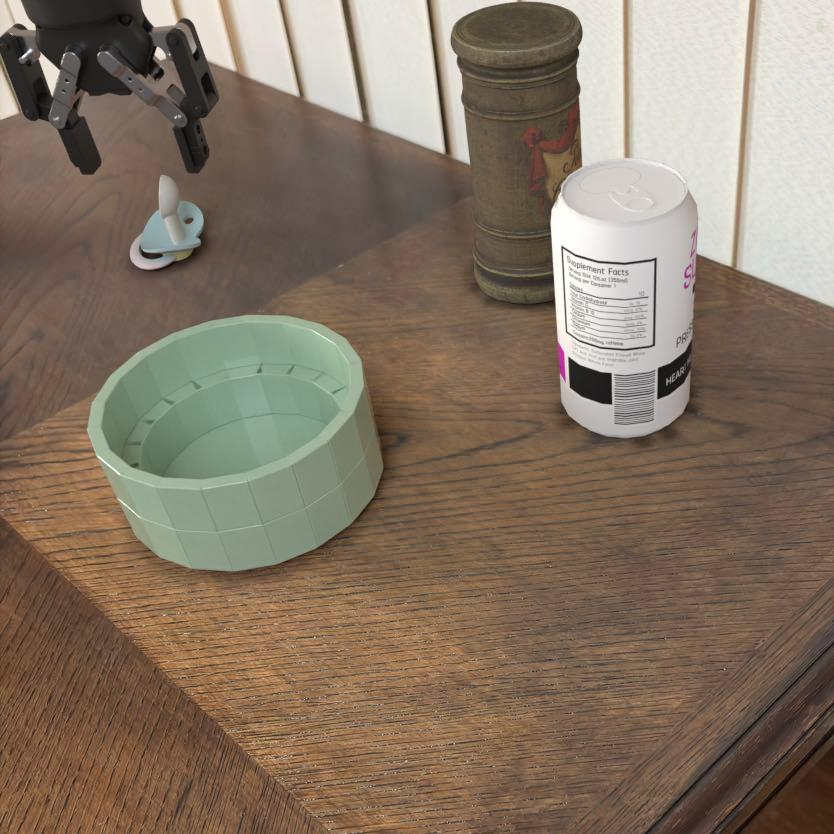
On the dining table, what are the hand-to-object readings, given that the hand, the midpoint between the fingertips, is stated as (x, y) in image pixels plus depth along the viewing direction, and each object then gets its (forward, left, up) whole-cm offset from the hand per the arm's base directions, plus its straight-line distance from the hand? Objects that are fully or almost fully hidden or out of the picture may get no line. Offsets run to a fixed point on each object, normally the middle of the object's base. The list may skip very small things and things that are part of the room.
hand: (144, 169), depth 81 cm
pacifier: (0, 0, -7) cm, 7 cm away
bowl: (+16, -26, -7) cm, 31 cm away
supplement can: (+38, -17, -7) cm, 42 cm away
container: (+30, -2, -7) cm, 31 cm away
